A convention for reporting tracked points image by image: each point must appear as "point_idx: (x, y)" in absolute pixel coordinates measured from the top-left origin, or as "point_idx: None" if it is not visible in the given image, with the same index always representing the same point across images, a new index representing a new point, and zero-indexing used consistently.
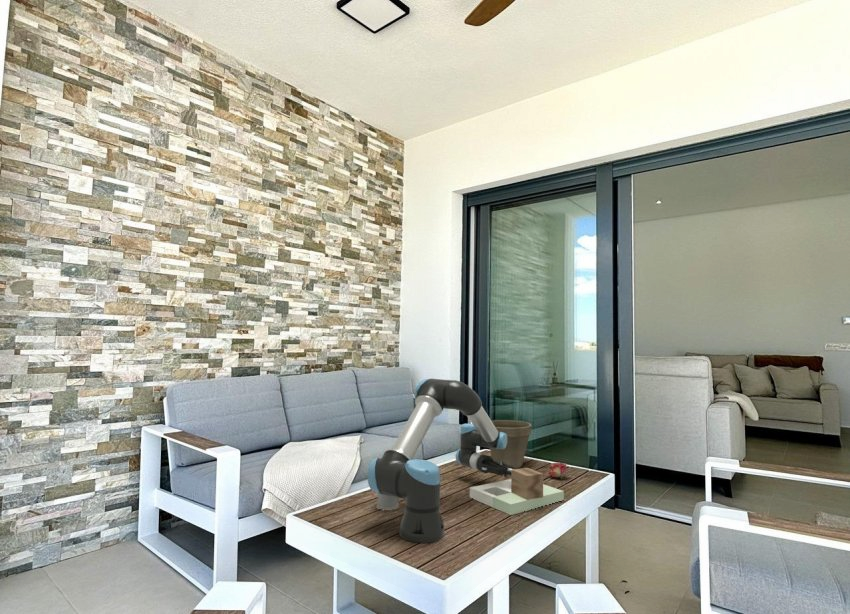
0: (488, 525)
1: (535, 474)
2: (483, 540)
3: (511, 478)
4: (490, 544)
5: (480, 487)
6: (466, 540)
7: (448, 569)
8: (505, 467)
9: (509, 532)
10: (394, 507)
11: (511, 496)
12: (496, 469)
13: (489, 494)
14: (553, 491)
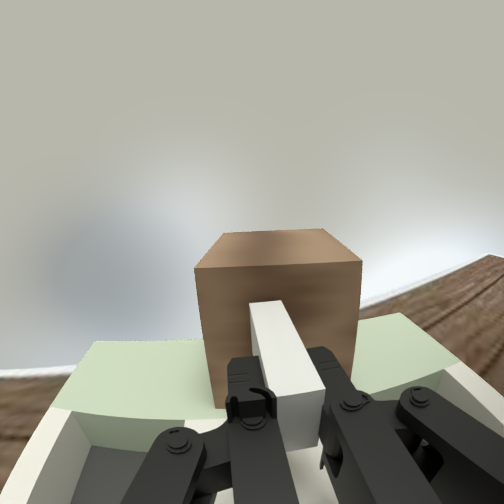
0: (461, 312)
1: (265, 232)
2: (464, 283)
3: (357, 324)
4: (453, 278)
5: None
6: (489, 285)
7: (490, 259)
8: (293, 485)
9: (418, 294)
10: None
11: (372, 360)
12: (475, 434)
13: (476, 383)
14: (127, 351)
